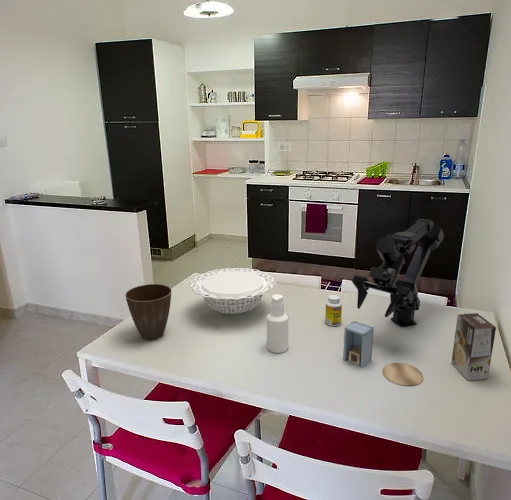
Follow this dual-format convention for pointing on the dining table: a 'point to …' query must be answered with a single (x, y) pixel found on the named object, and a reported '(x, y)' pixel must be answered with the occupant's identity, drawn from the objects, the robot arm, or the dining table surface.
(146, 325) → the plant pot
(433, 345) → the dining table surface
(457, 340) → the coffee box
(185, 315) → the dining table surface
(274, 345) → the spray bottle
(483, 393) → the dining table surface
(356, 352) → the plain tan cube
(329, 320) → the supplement bottle
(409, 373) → the coaster
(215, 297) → the white woven basket
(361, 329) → the blue-grey open box
